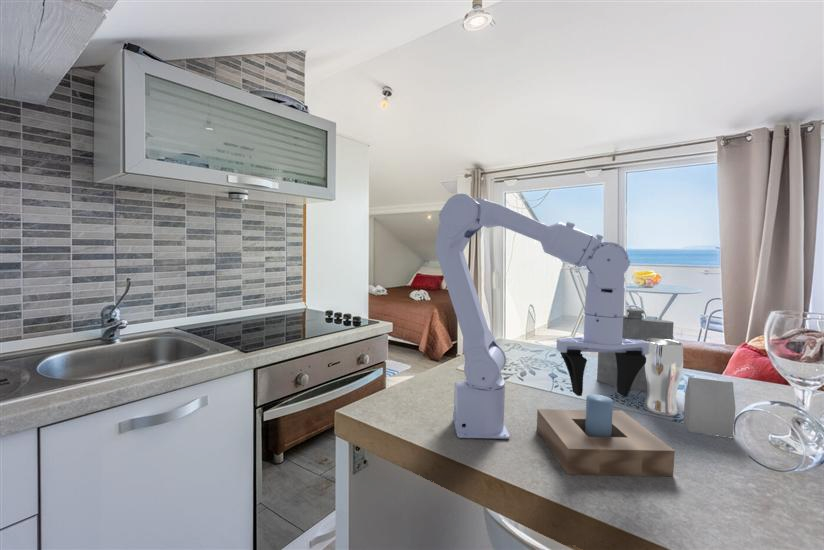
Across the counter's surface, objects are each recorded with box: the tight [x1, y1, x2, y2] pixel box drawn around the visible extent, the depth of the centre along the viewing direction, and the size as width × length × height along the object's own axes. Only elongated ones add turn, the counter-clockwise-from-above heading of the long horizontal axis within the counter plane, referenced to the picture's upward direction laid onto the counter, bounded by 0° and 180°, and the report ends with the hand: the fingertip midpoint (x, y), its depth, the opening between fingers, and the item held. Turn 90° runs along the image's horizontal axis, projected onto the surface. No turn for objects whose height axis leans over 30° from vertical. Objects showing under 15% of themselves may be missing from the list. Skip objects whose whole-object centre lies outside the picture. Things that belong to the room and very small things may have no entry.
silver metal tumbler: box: [643, 338, 684, 417], centre depth 79 cm, size 7×7×15 cm
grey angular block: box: [682, 376, 737, 438], centre depth 70 cm, size 4×7×10 cm, turn 67°
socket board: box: [536, 408, 676, 477], centre depth 62 cm, size 16×14×4 cm
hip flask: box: [596, 308, 675, 393], centre depth 93 cm, size 16×4×20 cm, turn 56°
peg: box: [585, 393, 614, 437], centre depth 62 cm, size 4×4×9 cm
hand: (599, 394), depth 62 cm, fingers open, 7 cm apart
